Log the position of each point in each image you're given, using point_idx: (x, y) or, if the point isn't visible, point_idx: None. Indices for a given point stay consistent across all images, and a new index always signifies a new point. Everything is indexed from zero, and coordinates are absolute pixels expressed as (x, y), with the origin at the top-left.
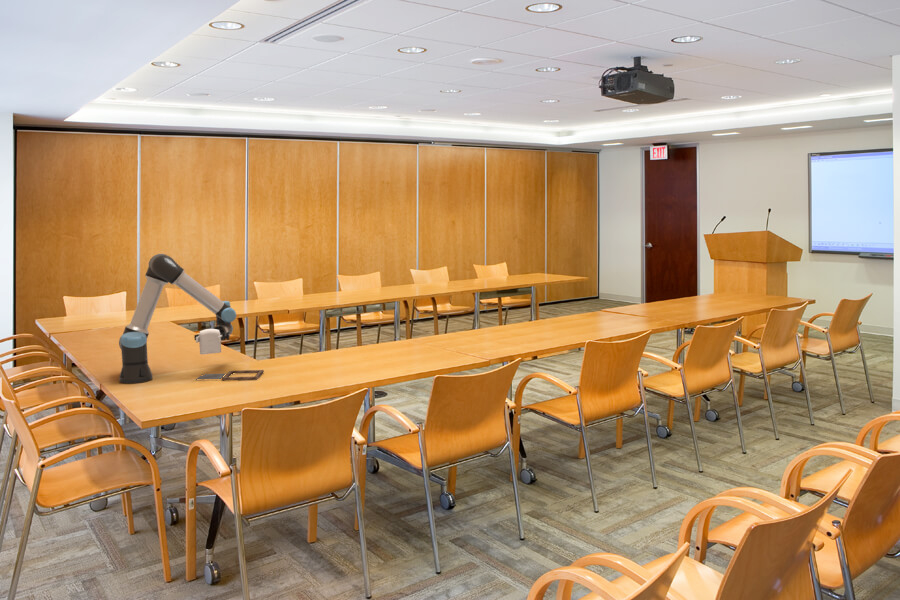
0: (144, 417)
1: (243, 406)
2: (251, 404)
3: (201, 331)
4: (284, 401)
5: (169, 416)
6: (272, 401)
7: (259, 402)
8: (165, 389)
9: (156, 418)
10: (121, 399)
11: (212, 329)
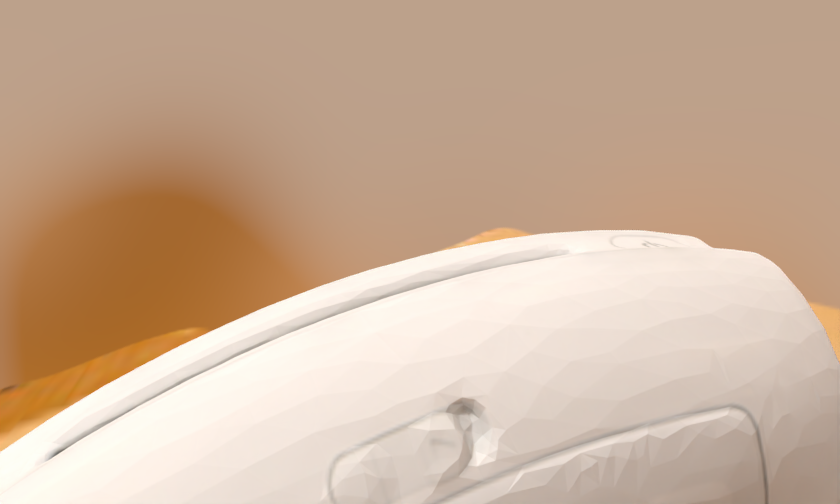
0: (516, 236)
1: (200, 334)
2: (166, 351)
3: (639, 234)
4: (26, 391)
5: (439, 251)
6: (73, 385)
7: (129, 370)
8: None
9: (471, 238)
10: (836, 309)
11: (238, 321)
